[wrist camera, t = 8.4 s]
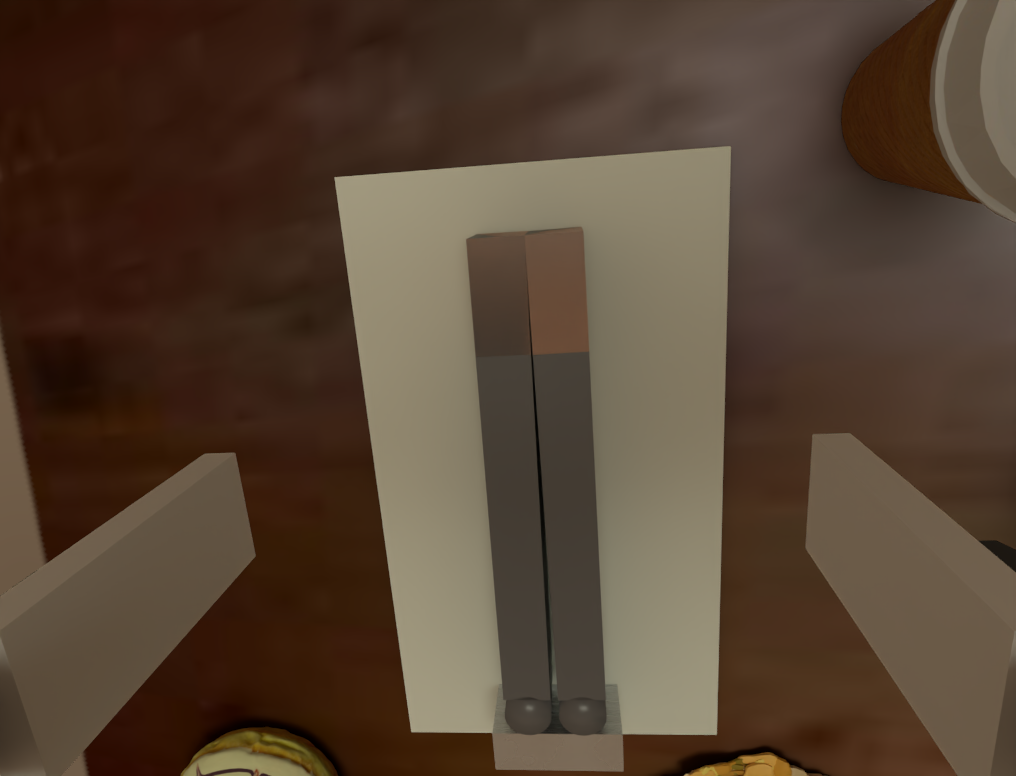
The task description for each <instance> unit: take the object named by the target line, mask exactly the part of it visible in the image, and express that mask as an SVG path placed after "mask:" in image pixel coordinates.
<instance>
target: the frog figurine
mask: <svg viewBox="0 0 1016 776" xmlns="http://www.w3.org/2000/svg"><path fill="white" fill-rule="evenodd" d="M683 776H827V775H822V774H809V773H806V772H805V771H804V770H803V769H801V768H799V767H796V766H794V765H789V763H788V762H787V761H786V760H785V759H783V758H780V757H779V756H776V755H775V754H773V753H770V752H765V753H760V754H755V755H742V756H739V757H738V758H737V759H734V760H731V761H729V762H722V763H717V764H714V765H705V766H704V767H701V768H699V769H697V770H692V771H691V772H690V773H688V774H685V775H683Z"/></svg>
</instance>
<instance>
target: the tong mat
mask: <svg viewBox="0 0 1016 776" xmlns="http://www.w3.org/2000/svg"><path fill="white" fill-rule="evenodd" d="M730 165H731V146H724V147H712V148H699V149H686V150H674V151H661V152H649V153H636V154H623V155H611V156H598V157H585V158H573V159H560V160H548V161H535V162H522V163H510V164H497V165H485V166H472V167H459V168H447V169H434V170H421V171H409V172H396V173H384V174H371V175H358V176H346V177H335V184H336V192H337V199H338V206H339V213H340V220H341V228H342V235H343V242H344V249H345V257H346V264H347V271H348V278H349V285H350V293H351V300H352V307H353V314H354V321H355V329H356V336H357V343H358V350H359V358H360V365H361V372H362V379H363V386H364V394H365V401H366V408H367V415H368V422H369V430H370V437H371V444H372V451H373V459H374V466H375V473H376V480H377V487H378V495H379V502H380V509H381V516H382V523H383V531H384V538H385V545H386V552H387V560H388V567H389V574H390V581H391V588H392V596H393V603H394V610H395V617H396V624H397V632H398V639H399V646H400V653H401V661H402V668H403V675H404V682H405V689H406V697H407V704H408V711H409V718H410V725H411V732H463V733H492V732H493V725H494V717H495V710H496V703H497V695H498V688H499V684H502V677H501V664H500V652H499V640H498V627H497V615H496V603H495V590H494V578H493V566H492V553H491V541H490V529H489V517H488V504H487V492H486V480H485V467H484V455H483V443H482V430H481V418H480V406H479V393H478V381H477V369H476V356H475V344H474V332H473V319H472V307H471V295H470V282H469V270H468V258H467V245H466V239H467V238H469V237H472V236H474V235H476V234H486V233H502V232H518V231H535V230H547V229H560V228H572V227H582V229H583V232H584V253H585V274H586V295H587V316H588V337H589V358H590V378H591V399H592V420H593V441H594V462H595V483H596V504H597V524H598V545H599V566H600V587H601V608H602V629H603V650H604V671H605V684H617V687H618V696H619V705H620V715H621V724H622V733H623V734H674V735H717V705H718V663H719V622H720V580H721V539H722V497H723V456H724V414H725V373H726V331H727V290H728V248H729V207H730ZM544 518H545V514H544ZM545 536H546V528H545ZM546 554H547V542H546ZM547 573H548V591H549V610H550V628H551V646H552V666H553V673H552V684H557V679H556V665H555V652H554V638H553V624H552V610H551V597H550V583H549V569H548V556H547Z"/></svg>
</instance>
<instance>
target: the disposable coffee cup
mask: <svg viewBox="0 0 1016 776" xmlns="http://www.w3.org/2000/svg"><path fill="white" fill-rule="evenodd" d="M841 123H842V130H843V137H844V140H845V142H846V145H847V148H848V150H849V152H850V153H851V155H852V156H853V158H854V159H855V160H856V162H857V163H858V164H859V165H860V166H861V167H862V168H863V169H864V170H865V171H867V172H868V173H870V174H871V175H873V176H875V177H876V178H879V179H882V180H885V181H889V182H893V183H898V184H902V185H906V186H910V187H915V188H918V189H923V190H927V191H931V192H934V193H939V194H944V195H947V196H952V197H956V198H960V199H964V200H968V201H973V202H977V203H981V204H984V205H985V206H986V207H987V208H989V209H990V210H991V211H993V212H994V213H995V214H998V215H1000V216H1002V217H1004V218H1006V219H1008V220H1011V221H1013V222H1015V223H1016V0H936V1H935V2H934V3H932V4H931V5H929V6H927V7H926V8H925V10H923V11H922V12H920V13H919V14H918V15H917V16H916V17H915V18H914V19H912V20H911V21H910V22H909V23H907V24H906V25H905V26H903V27H902V28H901V29H900V30H899V31H897V32H896V33H895V34H894V35H892V36H891V37H890V38H889V39H888V40H886V41H885V42H884V43H882V44H881V45H880V46H878V47H877V48H876V49H874V50H873V51H872V53H871V54H870V55H869V56H868V57H867V58H866V59H865V60H864V61H863V62H862V63H861V65H860V67H859V68H858V70H857V71H856V73H855V74H854V76H853V78H852V79H851V81H850V84H849V86H848V88H847V91H846V94H845V98H844V102H843V106H842V120H841Z"/></svg>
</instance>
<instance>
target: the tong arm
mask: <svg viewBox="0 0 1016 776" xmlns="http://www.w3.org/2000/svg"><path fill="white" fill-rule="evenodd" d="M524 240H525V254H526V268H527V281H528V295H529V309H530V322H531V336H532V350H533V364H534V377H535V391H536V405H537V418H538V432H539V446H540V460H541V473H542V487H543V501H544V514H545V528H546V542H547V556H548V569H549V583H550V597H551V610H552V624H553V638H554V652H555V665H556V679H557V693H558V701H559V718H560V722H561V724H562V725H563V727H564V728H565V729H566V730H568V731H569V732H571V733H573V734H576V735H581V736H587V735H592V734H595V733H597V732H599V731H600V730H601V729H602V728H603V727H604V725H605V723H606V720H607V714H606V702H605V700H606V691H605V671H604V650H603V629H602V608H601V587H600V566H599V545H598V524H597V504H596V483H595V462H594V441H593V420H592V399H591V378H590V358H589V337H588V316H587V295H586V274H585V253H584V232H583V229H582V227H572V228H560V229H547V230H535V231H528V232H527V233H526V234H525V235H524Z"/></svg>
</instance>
